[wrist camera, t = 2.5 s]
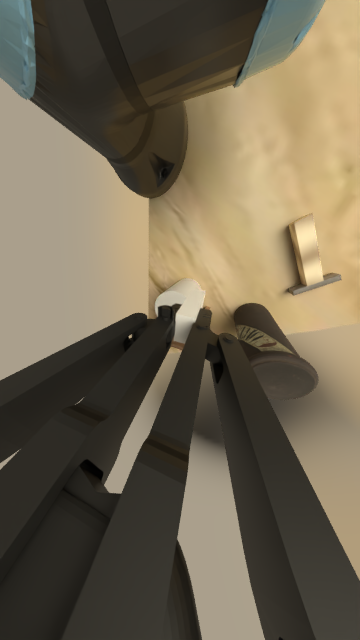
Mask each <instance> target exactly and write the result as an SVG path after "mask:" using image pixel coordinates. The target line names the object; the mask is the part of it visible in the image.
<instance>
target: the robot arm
mask: <svg viewBox="0 0 360 640" xmlns="http://www.w3.org/2000/svg"><path fill="white" fill-rule="evenodd" d="M324 2H325V0H0V77H1V78H2V79H3V80H4V81H5V82H6V83H8V84H9V85H10V86H11V87H12V88H13V89H14V90H15V92H17V93H18V94H19V95H20V96H21V97H23V98H25V99H27V98H28V99H29V100H30V101H32V102H33V103H34V104H36V105H37V106H38V107H40V108H41V109H42V110H44V111H45V112H46V113H48V114H49V115H50V116H51V117H53V118H54V119H55V120H57V121H58V122H59V123H61V124H62V125H63V126H65V127H66V128H67V129H69V130H70V131H71V132H73V133H74V134H75V135H76V136H78V137H79V138H80V139H82V140H83V141H84V142H86V143H87V144H88V145H90V146H91V147H92V148H94V149H95V150H96V151H98V152H99V153H100V154H102V155H103V156H104V157H106V158H107V160H108V161H109V163H110V164H111V166H112V167H113V168H114V170H115V172H116V173H117V174H118V176H119V178H120V179H121V181H122V182H123V183H124V184H125V185H126V186H127V187H128V188H129V189H131V190H132V191H133V192H135V193H137V194H139V195H141V196H143V197H147V198H154V197H158V196H160V195H162V194H163V193H165V192H166V191H167V190H168V189H169V188H170V187H171V186H172V185H173V183H174V182H175V180H176V179H177V177H178V175H179V173H180V170H181V168H182V165H183V162H184V158H185V154H186V148H187V139H188V124H187V115H186V109H185V104H184V101H185V100H187V99H190V98H193V97H196V96H200V95H203V94H206V93H209V92H212V91H215V90H218V89H221V88H224V87H227V86H231V85H233V86H234V88H235V87H238V86H240V85H241V83H242V82H243V81H244V80H245V79H247V78H249V77H251V76H253V75H255V74H257V73H260V72H262V71H264V70H267V69H269V68H271V67H274V66H276V65H278V64H280V63H281V62H283V61H284V60H285V59H287V58H288V57H289V56H290V55H291V54H292V53H293V52H294V50H295V49H296V48H297V47H298V45H299V44H300V43H301V41H302V40H303V39H304V37H305V36H306V34H307V32H308V31H309V29H310V28H311V26H312V25H313V23H314V21H315V19H316V17H317V16H318V14H319V12H320V10H321V8H322V6H323V4H324ZM205 292H206V291H204V290H198V289H193V290H192V291H191V293H190V294H189V295H188V297H187V298H186V300H185V301H184V303H183V304H177V303H175V304H173V305H172V306H169V305H162V306H159V307H158V317H157V318H156V319H147V315H145V314H143V313H135V314H132V315H130V316H128V317H126V318H124V319H122V320H120V321H118V322H116V323H114V324H112V325H110V326H108V327H107V328H104V329H102V330H100V331H98V332H96V333H94V334H92V335H90V336H88V337H86V338H84V339H82V340H80V341H78V342H76V343H74V344H72V345H70V346H68V347H66V348H65V349H62V350H60V351H58V352H56V353H54V354H52V355H50V356H48V357H47V358H44V359H43V360H40V361H38V362H36V363H34V364H33V365H30V366H28V367H27V368H24V369H23V370H20V371H19V372H16V373H15V374H12V375H10V376H8V377H6V378H5V379H2V380H1V381H0V463H1V462H2V461H4V460H5V459H7V458H8V457H10V456H11V455H12V454H14V453H15V452H17V451H18V450H19V451H18V452H17V454H15V456H14V457H13V458H12V459H11V460H10V461H9V462H8V463H7V464H6V465H5V466H4V467H3V468H2V469H1V470H0V640H202V637H201V632H200V626H199V621H198V615H197V610H196V604H195V599H194V594H193V589H192V585H191V580H190V576H189V573H188V569H187V565H186V561H185V558H184V555H183V552H182V550H181V546H180V545H179V542H178V540H177V535H178V529H179V523H180V517H181V510H182V503H183V498H184V492H185V485H186V479H187V472H188V463H189V450H190V444H191V438H192V432H193V425H194V420H195V415H196V409H197V403H198V397H199V390H200V385H201V379H202V373H203V367H204V361H205V359H207V360H208V361H210V366H211V371H212V377H213V382H214V388H215V393H216V399H217V405H218V410H219V416H220V421H221V426H222V432H223V438H224V443H225V449H226V455H227V460H228V466H229V471H230V477H231V482H232V488H233V494H234V499H235V505H236V510H237V515H238V521H239V527H240V532H241V538H242V543H243V549H244V554H245V559H246V563H247V568H248V573H249V578H250V583H251V587H252V591H253V595H254V599H255V603H256V606H257V611H258V614H259V618H260V622H261V626H262V629H263V634H264V637H265V640H360V581H359V579H358V577H357V575H356V573H355V571H354V569H353V567H352V565H351V563H350V561H349V559H348V557H347V555H346V553H345V551H344V549H343V547H342V545H341V543H340V541H339V539H338V537H337V535H336V533H335V531H334V529H333V527H332V525H331V523H330V521H329V519H328V517H327V515H326V513H325V511H324V509H323V507H322V505H321V503H320V501H319V499H318V497H317V495H316V493H315V491H314V489H313V487H312V485H311V483H310V481H309V479H308V477H307V475H306V473H305V471H304V470H303V467H302V466H301V464H300V462H299V460H298V458H297V456H296V454H295V452H294V450H293V448H292V446H291V444H290V442H289V440H288V438H287V436H286V434H285V432H284V430H283V428H282V426H281V424H280V422H279V420H278V418H277V416H276V414H275V412H274V410H273V408H272V406H271V404H270V402H269V400H268V398H267V396H266V394H265V392H264V390H263V388H262V386H261V384H260V382H259V380H258V378H257V376H256V374H255V372H254V370H253V368H252V366H251V364H250V362H249V360H248V358H247V356H246V354H245V352H244V350H243V348H242V346H241V344H240V342H239V340H238V339H237V338H236V337H235V336H233V335H231V334H228V333H222V334H220V335H217V334H215V333H213V332H212V331H211V330H210V322H211V316H212V312H211V310H207V309H203V308H202V307H203V302H204V297H205ZM131 334H132V338H130V339H129V337H128V336H129V335H131ZM173 337H174V341H176V342H180V343H183V344H185V345H184V348H183V350H182V353H181V355H180V358H179V360H178V363H177V365H176V368H175V370H174V373H173V375H172V378H171V381H170V383H169V386H168V388H167V391H166V393H165V396H164V399H163V401H162V403H161V406H160V408H159V411H158V414H157V416H156V419H155V421H154V424H153V426H152V429H151V431H150V434H149V436H148V438H147V439H146V440H145V441H144V443H143V445H142V447H141V449H140V451H139V453H138V455H137V458H136V460H135V462H134V465H133V467H132V470H131V472H130V474H129V477H128V479H127V482H126V484H125V486H124V489H123V491H122V494H116V493H109V492H108V491H107V489H106V488H105V486H104V484H105V482H106V480H107V478H108V476H109V474H110V472H111V470H112V468H113V466H114V464H115V461H116V459H117V456H118V454H119V450H120V446H121V443H122V440H123V438H124V436H125V434H126V433H127V430H128V428H129V427H130V425H131V423H132V421H133V419H134V417H135V415H136V413H137V411H138V409H139V407H140V405H141V403H142V401H143V399H144V397H145V395H146V393H147V392H148V390H149V388H150V386H151V384H152V382H153V380H154V378H155V376H156V374H157V372H158V370H159V368H160V366H161V364H162V362H163V360H164V359H165V357H166V355H167V353H168V351H169V349H170V347H171V345H172V339H173ZM82 398H84V399H83V400H82V401H80V400H81V399H82ZM79 401H80V403H78V402H79ZM76 403H78V404H76ZM75 404H76V405H75Z"/></svg>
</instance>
